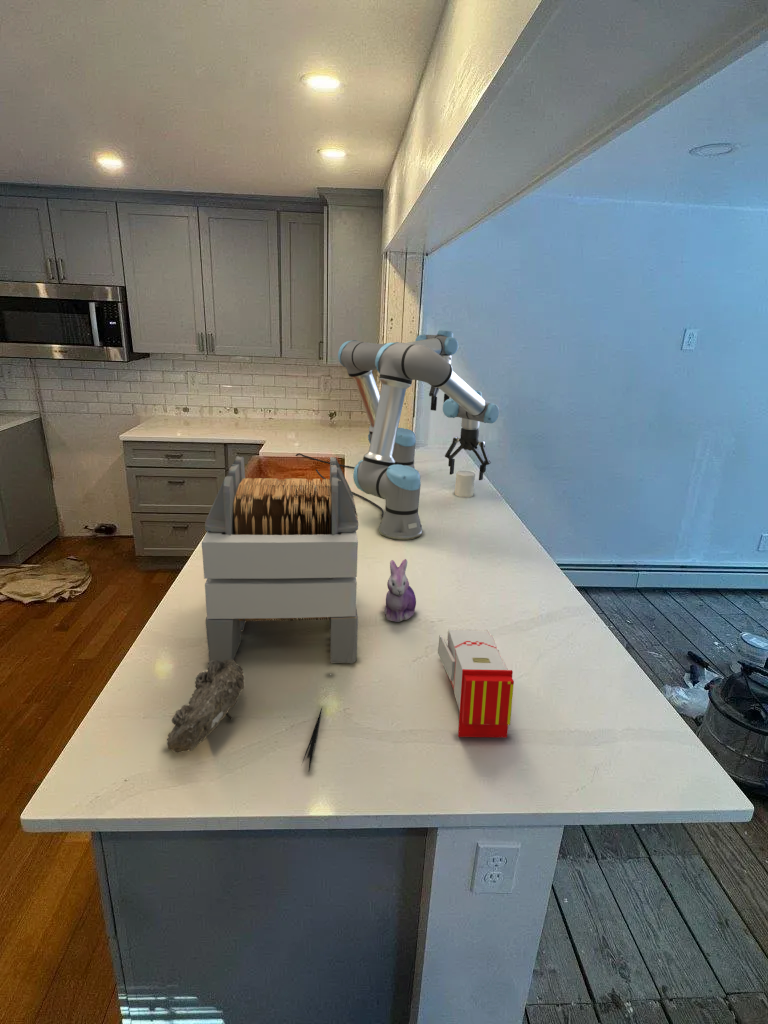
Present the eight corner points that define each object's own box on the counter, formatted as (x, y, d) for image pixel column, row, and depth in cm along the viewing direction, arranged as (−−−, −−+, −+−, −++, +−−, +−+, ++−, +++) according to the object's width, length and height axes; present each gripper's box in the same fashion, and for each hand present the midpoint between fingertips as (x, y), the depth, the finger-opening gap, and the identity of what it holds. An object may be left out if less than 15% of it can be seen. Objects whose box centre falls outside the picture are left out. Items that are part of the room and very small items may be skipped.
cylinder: (469, 498, 241) (471, 476, 238) (451, 495, 244) (453, 473, 241) (475, 493, 248) (477, 472, 245) (458, 490, 251) (460, 469, 248)
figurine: (392, 627, 141) (395, 572, 136) (374, 608, 149) (376, 556, 144) (425, 619, 145) (429, 566, 140) (405, 601, 154) (408, 550, 149)
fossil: (192, 660, 117) (244, 628, 112) (224, 691, 120) (276, 661, 115) (142, 746, 98) (202, 712, 93) (182, 779, 101) (242, 748, 96)
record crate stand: (229, 593, 154) (221, 446, 140) (349, 591, 157) (353, 448, 144) (206, 668, 122) (192, 488, 108) (357, 664, 126) (363, 489, 112)
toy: (488, 613, 130) (523, 677, 101) (484, 667, 133) (517, 744, 104) (435, 612, 130) (455, 676, 101) (432, 666, 133) (451, 743, 103)
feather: (331, 679, 122) (336, 673, 122) (307, 777, 96) (313, 769, 95) (324, 675, 122) (329, 669, 121) (298, 772, 95) (304, 764, 95)
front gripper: (501, 430, 233) (496, 479, 241) (446, 422, 245) (443, 469, 253) (495, 433, 227) (490, 484, 235) (439, 425, 239) (436, 473, 247)
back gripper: (438, 366, 260) (434, 412, 267) (461, 363, 280) (457, 406, 287) (423, 365, 264) (420, 410, 271) (447, 362, 284) (444, 404, 291)
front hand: (465, 476), depth 244 cm, fingers open, 13 cm apart
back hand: (439, 408), depth 279 cm, fingers open, 13 cm apart
